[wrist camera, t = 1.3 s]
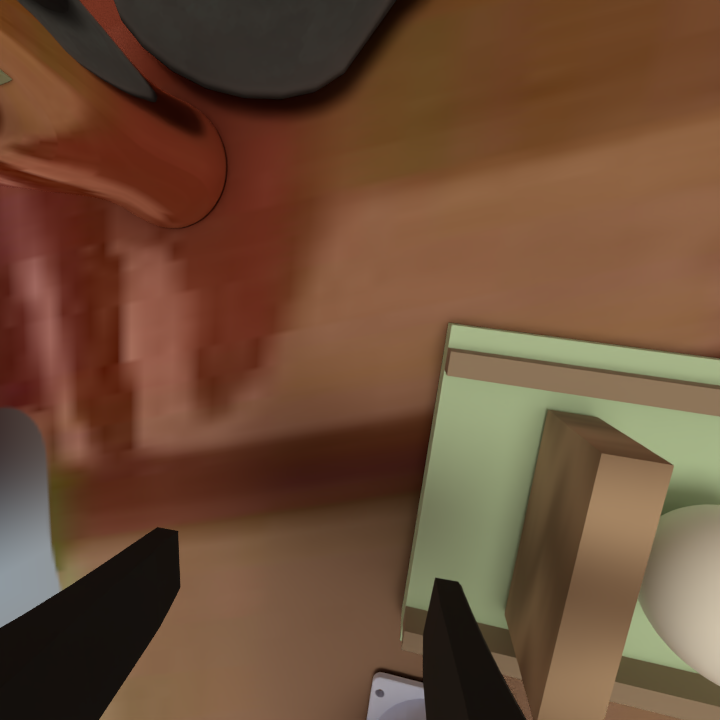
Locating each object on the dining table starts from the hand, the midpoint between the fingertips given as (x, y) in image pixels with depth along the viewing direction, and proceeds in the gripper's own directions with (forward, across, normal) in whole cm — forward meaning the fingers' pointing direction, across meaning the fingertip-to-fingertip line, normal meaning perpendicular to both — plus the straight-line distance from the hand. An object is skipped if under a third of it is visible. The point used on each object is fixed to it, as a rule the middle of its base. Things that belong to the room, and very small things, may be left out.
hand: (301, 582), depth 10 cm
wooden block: (+7, -9, +2) cm, 12 cm away
